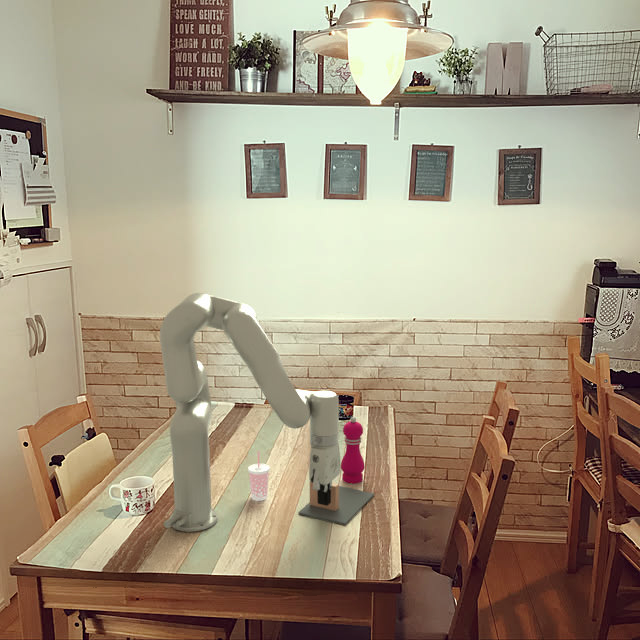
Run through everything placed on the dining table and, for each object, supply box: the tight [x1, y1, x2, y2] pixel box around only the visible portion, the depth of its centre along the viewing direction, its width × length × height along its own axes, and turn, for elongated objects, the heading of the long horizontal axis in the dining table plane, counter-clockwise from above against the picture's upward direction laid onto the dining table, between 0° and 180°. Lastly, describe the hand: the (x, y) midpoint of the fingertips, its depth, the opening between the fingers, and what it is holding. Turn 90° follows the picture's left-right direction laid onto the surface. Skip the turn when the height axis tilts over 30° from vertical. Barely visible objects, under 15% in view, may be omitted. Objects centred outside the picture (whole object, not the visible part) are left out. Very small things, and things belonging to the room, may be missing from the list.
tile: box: [309, 481, 340, 511], centre depth 182 cm, size 2×8×7 cm, turn 63°
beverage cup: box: [247, 450, 270, 502], centre depth 188 cm, size 6×6×14 cm
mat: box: [298, 485, 375, 526], centre depth 185 cm, size 20×14×1 cm
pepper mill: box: [340, 416, 365, 485], centre depth 200 cm, size 7×7×20 cm
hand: (324, 503), depth 177 cm, fingers closed
